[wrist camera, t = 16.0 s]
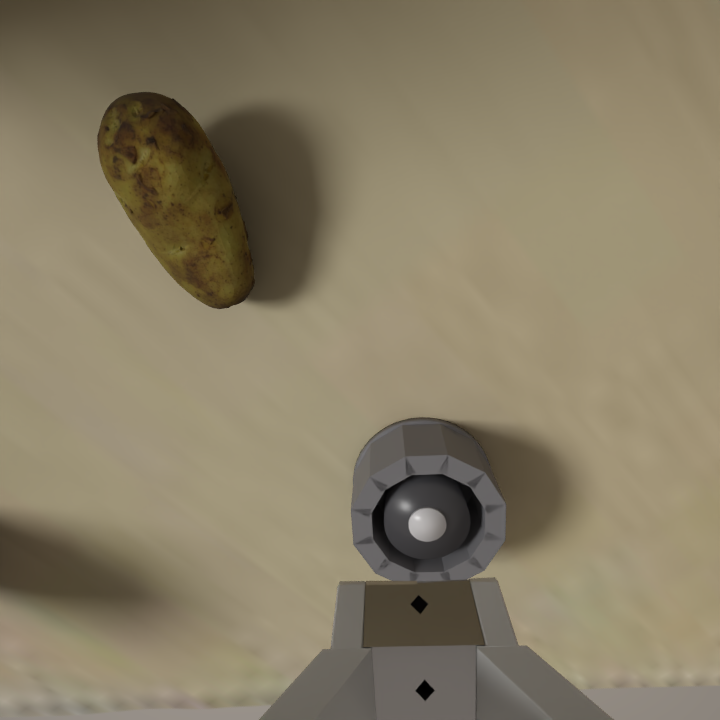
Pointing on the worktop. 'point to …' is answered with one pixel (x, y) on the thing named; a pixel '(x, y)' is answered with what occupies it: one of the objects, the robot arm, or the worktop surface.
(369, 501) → the faceted grey cup
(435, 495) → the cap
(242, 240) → the potato
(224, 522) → the worktop surface
